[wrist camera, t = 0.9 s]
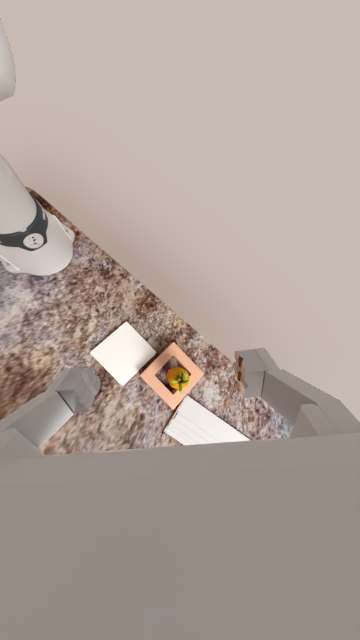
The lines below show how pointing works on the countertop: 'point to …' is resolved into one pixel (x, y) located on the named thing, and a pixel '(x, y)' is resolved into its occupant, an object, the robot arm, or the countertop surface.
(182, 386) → the carrot
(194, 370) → the holder ring
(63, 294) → the countertop surface
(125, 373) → the plate
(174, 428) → the baseboard molding
